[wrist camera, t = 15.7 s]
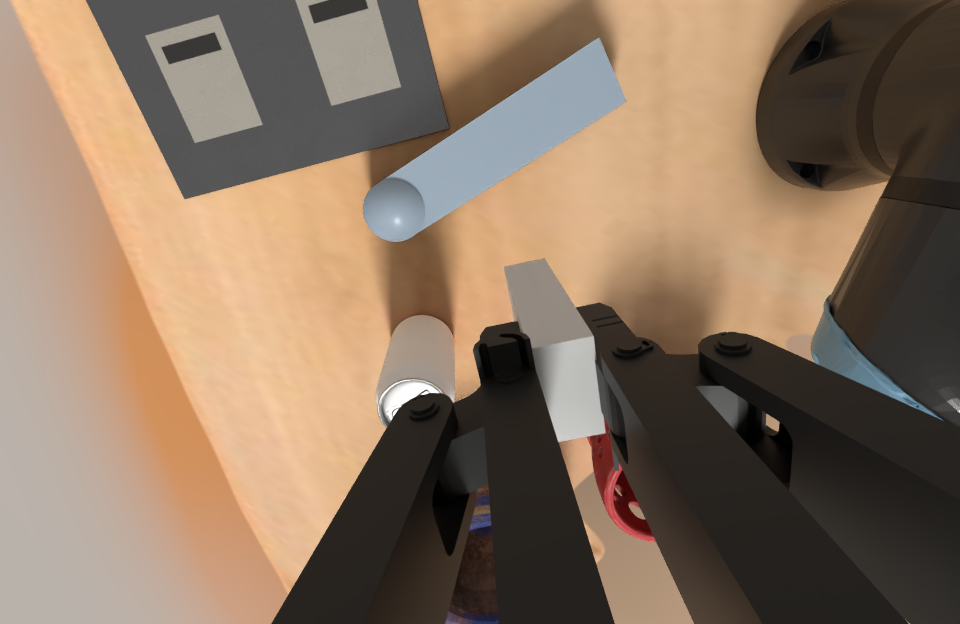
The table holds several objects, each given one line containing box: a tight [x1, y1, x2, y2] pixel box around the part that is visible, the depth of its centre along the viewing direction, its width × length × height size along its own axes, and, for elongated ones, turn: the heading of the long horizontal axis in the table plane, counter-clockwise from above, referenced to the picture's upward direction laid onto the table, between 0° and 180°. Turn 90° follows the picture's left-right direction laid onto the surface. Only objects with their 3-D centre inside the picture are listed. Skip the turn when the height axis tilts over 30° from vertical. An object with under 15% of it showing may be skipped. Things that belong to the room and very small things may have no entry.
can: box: [376, 315, 455, 428], centre depth 41 cm, size 6×6×12 cm
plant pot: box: [587, 418, 656, 542], centre depth 46 cm, size 13×13×12 cm
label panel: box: [86, 0, 449, 199], centre depth 36 cm, size 24×16×1 cm, turn 104°
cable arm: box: [363, 38, 627, 242], centre depth 37 cm, size 5×22×3 cm, turn 121°
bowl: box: [445, 485, 499, 624], centre depth 51 cm, size 18×18×10 cm
